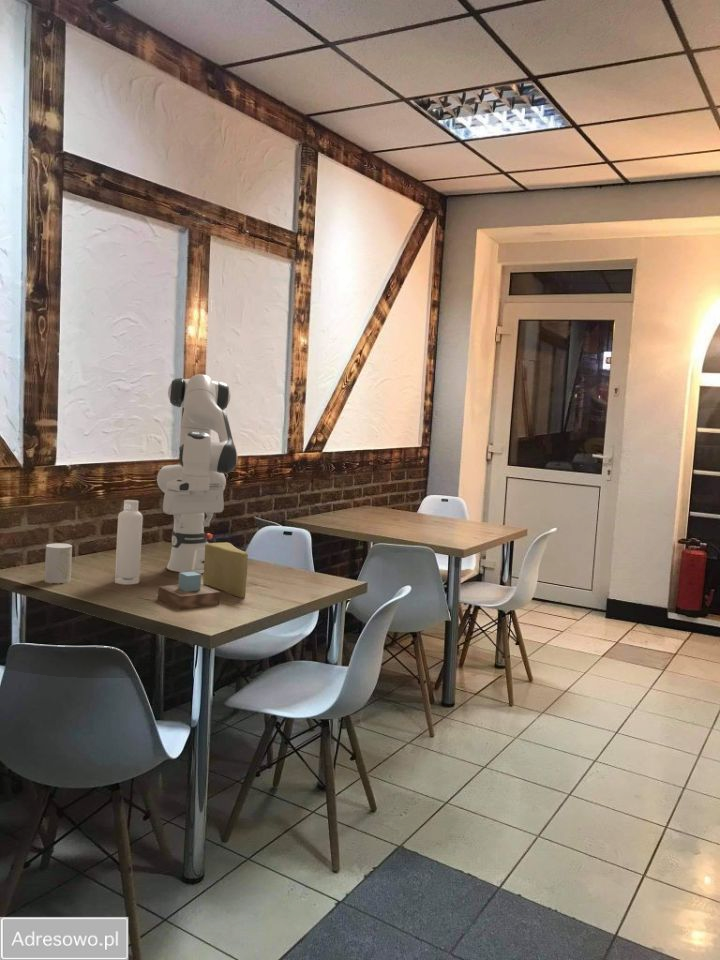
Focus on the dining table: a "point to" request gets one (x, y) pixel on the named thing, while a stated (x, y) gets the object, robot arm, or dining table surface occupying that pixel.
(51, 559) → the cup
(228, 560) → the cheese
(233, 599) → the dining table surface
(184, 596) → the riser
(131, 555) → the bottle
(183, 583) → the cube
